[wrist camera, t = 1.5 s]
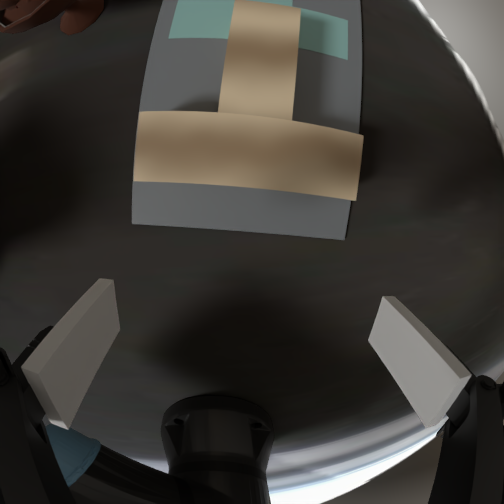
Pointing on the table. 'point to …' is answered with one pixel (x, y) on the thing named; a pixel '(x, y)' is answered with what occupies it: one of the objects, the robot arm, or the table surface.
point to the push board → (207, 100)
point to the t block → (251, 121)
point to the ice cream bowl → (48, 14)
